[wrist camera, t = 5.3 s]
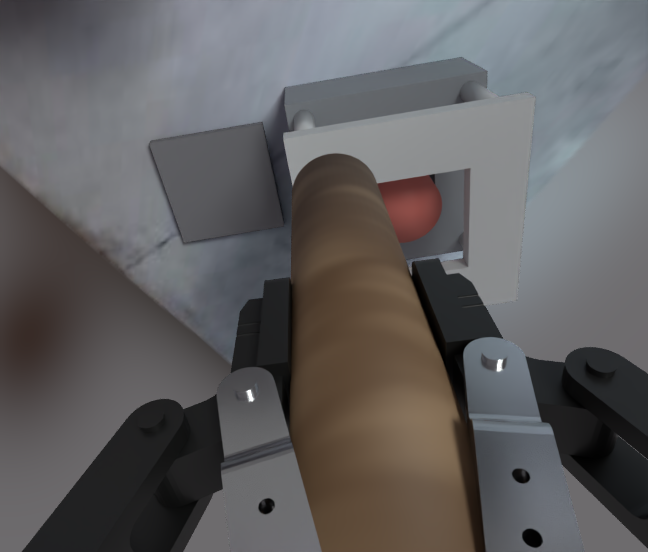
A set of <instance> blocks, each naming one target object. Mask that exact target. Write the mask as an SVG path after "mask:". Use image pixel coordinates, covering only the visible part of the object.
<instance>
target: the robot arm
mask: <svg viewBox="0 0 648 552" xmlns="http://www.w3.org/2000/svg"><path fill="white" fill-rule="evenodd" d="M412 278H413V281H414V284H415V286H416V289H417V292H418V294H419V297H420V300H421V302H422V305H423V308H424V310H425V313H426V316H427V318H428V321H429V324H430V326H431V329H432V332H433V334H434V337H435V340H436V342H437V345H438V348H439V350H440V353H441V356H442V358H443V361H444V364H445V367H446V369H447V372H448V375H449V377H450V380H451V383H452V385H453V388H454V391H455V393H456V396H457V399H458V401H459V404H460V407H461V409H462V412H463V415H464V417H465V420H466V423H467V428H468V435H469V440H470V447H471V454H472V461H473V468H474V476H475V484H476V491H477V499H478V507H479V516H480V524H481V532H482V540H483V549H484V552H585V551H584V547H583V543H582V540H581V536H580V532H579V528H578V525H577V521H576V517H575V513H574V509H573V505H572V502H571V498H570V494H569V491H568V486H567V483H566V479H565V475H564V471H563V467H562V465H563V466H564V467H565V468H566V469H567V470H568V471H569V472H570V473H571V474H572V475H573V476H574V477H575V478H576V479H577V480H578V481H579V482H580V483H581V484H582V485H583V486H584V487H585V488H586V489H587V490H588V491H590V492H591V493H592V494H593V495H594V496H595V497H596V498H597V499H598V500H599V501H600V502H601V503H602V504H603V505H604V506H605V507H606V508H607V509H608V510H609V511H610V512H611V513H612V514H613V515H614V516H615V517H616V518H617V519H618V520H619V521H620V522H622V524H623V525H624V526H625V527H626V528H627V529H628V530H629V531H630V532H631V533H632V534H633V535H635V536H636V537H637V538H638V539H639V540H640V541H641V542H642V543H643V544H644V545H645V546H646V547H647V548H648V460H647V459H648V374H647V373H646V372H644V371H643V370H641V369H640V368H638V367H637V366H636V365H634V364H632V363H631V362H630V361H628V360H627V359H625V358H624V357H622V356H620V355H619V354H616V353H614V352H612V351H609V350H606V349H602V348H596V347H585V348H580V349H576V350H574V351H572V352H571V353H570V354H569V355H568V356H567V357H566V360H565V363H563V362H553V361H544V360H538V359H533V358H529V357H526V356H525V355H524V353H523V351H522V350H521V349H520V348H519V347H518V346H516V345H515V344H513V343H512V342H510V341H507V340H505V339H503V337H502V335H501V334H500V332H499V330H498V328H497V327H496V325H495V323H494V321H493V319H492V317H491V316H490V314H489V312H488V310H487V308H486V307H485V306H484V303H483V301H482V299H481V298H480V296H479V295H478V292H477V290H476V289H475V287H474V285H473V283H472V282H471V281H470V280H468V279H467V278H465V277H464V276H463V275H461V274H460V273H455V274H446V272H445V270H444V268H443V266H442V264H441V262H440V260H439V259H438V258H437V259H429V260H422V261H414V262H412ZM291 329H292V284H291V280H290V278H281V279H274V280H266V281H265V282H264V292H263V298H259V299H251V300H248V302H247V303H246V304H245V306H244V307H243V309H242V310H241V311H240V316H239V322H238V329H237V337H236V342H235V348H234V355H233V361H232V368H231V374H229V375H228V376H227V377H225V378H224V379H223V381H222V382H221V383H220V385H219V387H218V389H217V394H216V395H215V396H213V397H212V398H210V399H208V400H206V401H204V402H201V403H199V404H196V405H193V406H191V407H188V408H186V409H183V408H182V407H181V405H180V404H179V403H178V402H176V401H174V400H169V399H160V400H155V401H151V402H149V403H146V404H144V405H142V406H141V407H139V408H138V409H136V410H135V411H134V412H133V413H132V414H131V415H130V416H129V417H128V419H126V421H125V422H124V423H123V425H122V426H121V427H120V428H119V430H118V431H117V432H116V433H115V435H114V436H113V437H112V438H111V440H110V441H109V442H108V444H107V445H106V446H105V447H104V449H103V450H102V451H101V452H100V454H99V455H98V456H97V457H96V459H95V460H94V461H93V462H92V464H91V465H90V466H89V468H88V469H87V470H86V471H85V473H84V474H83V475H82V476H81V478H80V479H79V480H78V481H77V483H76V484H75V485H74V486H73V488H72V489H71V490H70V492H69V493H68V494H67V495H66V497H65V498H64V499H63V500H62V502H61V503H60V504H59V505H58V507H57V508H56V509H55V511H54V512H53V513H52V514H51V516H50V517H49V518H48V519H47V521H46V522H45V523H44V524H43V526H42V527H41V528H40V530H39V531H38V532H37V533H36V535H35V536H34V537H33V538H32V540H31V541H30V542H29V543H28V545H27V546H26V547H25V549H24V550H23V551H22V552H183V551H184V549H185V547H186V545H187V543H188V542H189V540H190V538H191V536H192V534H193V532H194V530H195V528H196V527H197V525H198V523H199V521H200V519H201V517H202V515H203V513H204V511H205V510H206V508H207V506H208V504H209V502H210V500H211V498H212V495H213V493H215V492H217V491H219V490H222V489H223V492H224V493H223V494H224V502H225V511H226V520H227V528H228V537H229V547H230V552H322V551H321V547H320V543H319V540H318V536H317V532H316V529H315V525H314V521H313V518H312V514H311V510H310V507H309V503H308V499H307V496H306V492H305V489H304V485H303V481H302V478H301V474H300V470H299V467H298V463H297V459H296V456H295V452H294V448H293V445H292V441H291V439H290V436H289V423H290V381H291ZM618 435H619V436H620V437H621V438H622V439H624V440H625V441H626V442H627V443H628V444H630V445H631V446H632V447H633V448H635V449H636V450H637V451H638V452H639V453H638V452H637V451H636V450H635V449H633V448H632V447H631V446H630V445H628V444H627V443H626V442H625V441H624V440H622V439H621V438H620V437H619V436H618ZM640 453H641V454H642V455H643V456H644V457H646V458H647V459H646V458H644V457H643V456H642V455H641V454H640Z"/></svg>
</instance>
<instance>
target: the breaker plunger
mask: <svg viewBox="0 0 648 552" xmlns="http://www.w3.org/2000/svg"><path fill="white" fill-rule="evenodd" d="M377 184H378V187H379V190H380V193H381V195H382V198H383V201H384V203H385V206H386V209H387V211H388V214H389V217H390V219H391V222H392V225H393V227H394V230H395V233H396V235H397V238H398V241H399V243H406V242H411V241H414V240H417V239H419V238H421V237H423V236H424V235H426V234H427V233H428V232H429V231H430V230H431V229H432V228H433V227H434V226H435V224H436V223H437V221H438V219H439V217H440V214H441V211H442V198H441V194H440V192H439V190H438V188H437V187H436V185H435V184H434V182H433V181H432V179H431V178H430V176H429V175H425V176H419V177H413V178H407V179H401V180H395V181H389V182H383V183H377Z"/></svg>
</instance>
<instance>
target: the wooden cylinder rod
mask: <svg viewBox="0 0 648 552" xmlns="http://www.w3.org/2000/svg"><path fill="white" fill-rule="evenodd" d="M291 284H292V329H291V381H290V423H289V436H290V439H291V441H292V445H293V448H294V452H295V456H296V459H297V463H298V467H299V470H300V474H301V478H302V481H303V485H304V489H305V492H306V496H307V499H308V503H309V507H310V510H311V514H312V518H313V521H314V525H315V529H316V532H317V536H318V540H319V543H320V547H321V551H322V552H484V549H483V540H482V532H481V524H480V516H479V507H478V499H477V491H476V484H475V476H474V468H473V461H472V454H471V447H470V440H469V435H468V428H467V423H466V420H465V417H464V415H463V412H462V409H461V407H460V404H459V401H458V399H457V396H456V393H455V391H454V388H453V385H452V383H451V380H450V377H449V375H448V372H447V369H446V367H445V364H444V361H443V358H442V356H441V353H440V350H439V348H438V345H437V342H436V340H435V337H434V334H433V332H432V329H431V326H430V324H429V321H428V318H427V316H426V313H425V310H424V308H423V305H422V302H421V300H420V297H419V294H418V292H417V289H416V286H415V284H414V281H413V278H412V275H411V273H410V270H409V267H408V265H407V262H406V259H405V257H404V254H403V251H402V249H401V246H400V243H399V241H398V238H397V235H396V233H395V230H394V227H393V225H392V222H391V219H390V217H389V214H388V211H387V209H386V206H385V203H384V201H383V198H382V195H381V193H380V190H379V187H378V184H377V182H376V179H375V177H374V175H373V173H372V171H371V170H370V169H369V168H368V166H367V165H366V164H364V163H363V162H362V161H360V160H359V159H357V158H355V157H353V156H350V155H347V154H340V153H333V154H326V155H322V156H319V157H317V158H315V159H313V160H312V161H310V162H309V163H307V164H306V165H305V166H304V167H303V168H302V169H301V170H300V172H299V173H298V175H297V177H296V179H295V181H294V184H293V188H292V234H291Z"/></svg>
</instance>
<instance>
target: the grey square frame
mask: <svg viewBox="0 0 648 552" xmlns="http://www.w3.org/2000/svg"><path fill="white" fill-rule="evenodd" d="M535 100H536V97H535V96H533V95H531V94H529V93H528V92H525V93H519V94H513V95H507V96H501V97H499V96H497V95H496V94H494V93H493V92H491V91H489V90H488V89H487V71H486V70H485V69H483V68H481V67H479V66H477V65H475V64H473V63H471V62H470V61H468V60H466V59H464V58H462V57H460V58H454V59H448V60H442V61H437V62H431V63H425V64H419V65H413V66H407V67H401V68H396V69H390V70H384V71H378V72H372V73H366V74H360V75H355V76H349V77H343V78H337V79H331V80H325V81H320V82H314V83H308V84H302V85H296V86H290V87H285V102H284V106H285V112H286V117H287V122H288V127H289V132H287V133H283V141H284V146H285V151H286V156H287V161H288V166H289V171H290V176H291V181H292V186H293V184H294V181H295V179H296V177H297V175H298V173H299V172H300V170H301V169H302V168H303V167H304V166H305V165H306V164H307V163H309V162H310V161H312V160H313V159H315V158H317V157H319V156H322V155H326V154H333V153H340V154H347V155H350V156H353V157H355V158H357V159H359V160H360V161H362V162H363V163H364V164H366V165H367V166H368V168H369V169H370V170H371V171H372V173H373V175H374V177H375V179H376V182H377V183H383V182H389V181H395V180H401V179H407V178H413V177H419V176H425V175H429V176H430V178H431V179H432V181H433V182H434V184H435V185H436V187H437V188H438V190H439V192H440V194H441V198H442V211H441V214H440V217H439V219H438V221H437V223H436V224H435V226H434V227H433V228H432V229H431V230H430V231H429V232H428V233H427V234H426V235H424V236H423V237H421V238H419V239H417V240H414V241H411V242H406V243H400V246H401V249H402V251H403V254H404V257H405V259H406V260H407V259H413V258H419V257H426V256H432V255H438V254H445V253H451V252H457V251H463V258H462V259H456V260H450V261H443V262H441V264H442V266H443V268H444V270H445V272H446V274H455V273H460V274H461V275H463V276H464V277H465V278H467V279H468V280H470V281H471V282H472V283H473V285H474V287H475V289H476V290H477V292H478V295H479V296H480V298H481V299H482V301H483V303H484V306H487V305H494V304H499V303H507V302H513V301H517V293H518V283H519V272H520V261H521V250H522V240H523V229H524V218H525V208H526V197H527V186H528V175H529V164H530V154H531V143H532V132H533V121H534V110H535ZM409 270H410V273H411V275H412V267H409Z"/></svg>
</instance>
